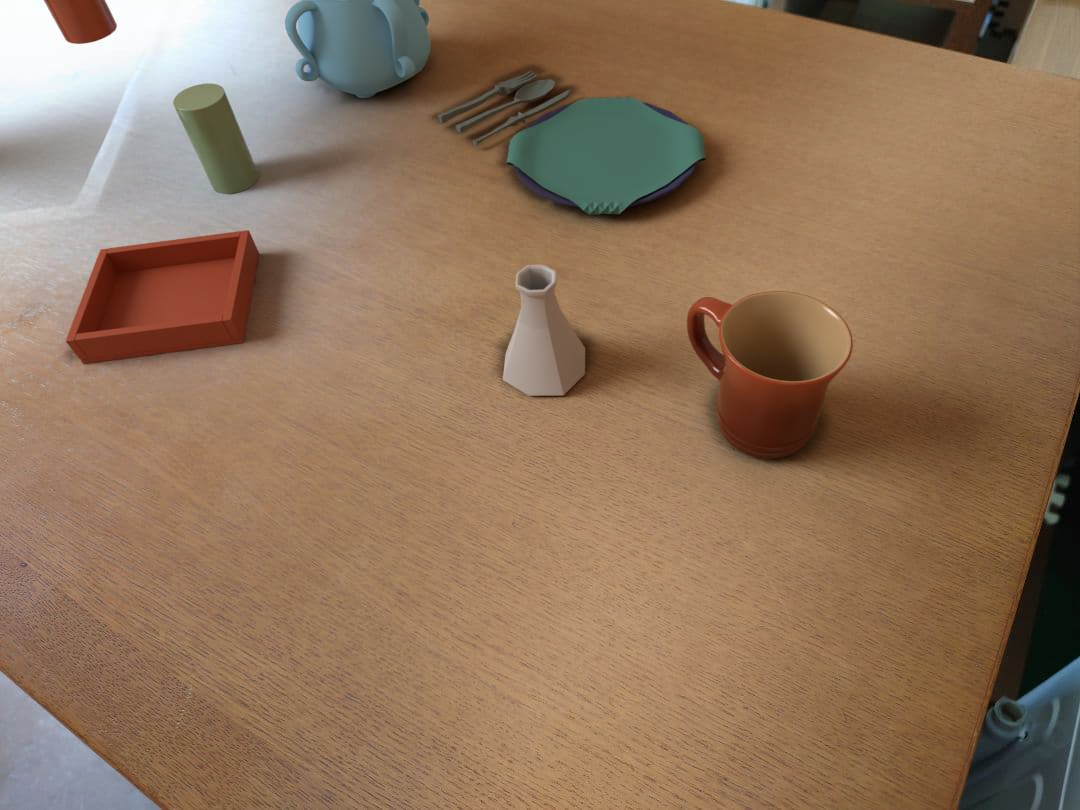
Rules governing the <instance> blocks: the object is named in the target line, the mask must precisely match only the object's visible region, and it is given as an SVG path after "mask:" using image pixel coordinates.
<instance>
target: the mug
mask: <svg viewBox="0 0 1080 810" xmlns="http://www.w3.org/2000/svg"><path fill="white" fill-rule="evenodd" d="M705 316H708V317H709V318H710V319H711V320H712V321H713V322H714V323H715V325H716V326H717V328H718V339H719V344H720V347H721V350H722V352H720V351H719V350H718V349H717V348H716V347H715V346H714V345H713V344H712V342H711V341H710V338H709V336H708V334H707V330H706V324H705V323H706V322H705ZM686 331H687V335H688V340H689V343H690V345H691V347H692V349H693V351H694V352H695V354H696V356H697V357H698V358H699V359H700V361H701V362H702V363H703V364H704V366H705V367H706V368H707V370H708V372H710V374H711V375H712V376H713V377H714V378H715V379H717V380H718V382H719V386H718V392H717V396H716V403H715V405H716V417H717V422H718V428H719V430H720V432H721V435H722V436H723V438H724V439H725V440H726V441H727V443H729V444H730V445H731V446H732V447H733V448H734V449H736V450H738V451H739V452H741V453H743V454H745V455H747V456H751V457H754V458H757V459H758V458H759V459H766V460H770V459H773V460H774V459H779V458H784V457H787V456H790V455H792V454H794V453H796V452H798V451H799V450H800V449H801V448H802V447H804V445H805V444H806V442H807V441H808V440H809V439H810V438H811V436H812V434H813V433H814V431H815V429H816V428H817V426H818V423H819V418H820V415H821V412H822V409H823V405H824V402H825V398H826V393H827V391H828V387H829V384H830V383H831V381H833V380H834V378H835V377H836V376H837V375H838V374H839V373H840V372H841V371H842V370H843V369H844V368H845V367H846V365H847V364H848V362H849V360H850V358H851V356H852V352H853V348H854V347H853V346H854V341H853V336H852V335H853V334H852V332H851V329H850V327H849V325H848V324H847V322H846V321H845V319H844V318H843V317H842V316H841V315H840V314H839V313H838V312H837V311H836V310H835V309H834V308H832V306H830V305H828V304H827V303H825V302H823V301H821V300H820V299H817V298H814V297H812V296H810V295H807V294H802V293H799V292H793V291H786V290H785V291H784V290H772V291H763V292H757V293H752V294H749V295H747V296H745V297H743V298H741V299H739V300H737V301H736V302H734V303H733V304H732V303H729V302H726V301H723V300H720V299H719V298H716V297H713V296H703V297H701V298H699V299H698V300H697V301H695V302H694V303H693V304H692V305H691V306H690V307H689V310H688V312H687V317H686Z"/></svg>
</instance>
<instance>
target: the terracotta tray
mask: <svg viewBox="0 0 1080 810" xmlns="http://www.w3.org/2000/svg"><path fill="white" fill-rule="evenodd" d="M259 257H260V252H259V250H258V247H257V245H256V243H255V241H254V238H253V236H252V234H251V232H250V230H249V229H246V230H237V231H230V232H223V233H215V234H208V235H199V236H192V237H185V238H177V239H170V240H168V239H167V240H161V241H154V242H146V243H137V244H130V245H123V246H115V247H108V248H101V249H99V251H98V255H97V258H96V260H95V263H94V265H93V268H92V271H91V273H90V276H89V279H88V281H87V284H86V286H85V289H84V290H83V291H84V292H83V294H82V297H81V300H80V301H79V304H78V307H77V310H76V312H75V315H74V318H73V320H72V324H71V325H70V328H69V331H68V333H67V336H66V338H65V343H66V345H68V347H69V348H70V349H71V350H72V351H73V353H74V354H75V355H76V357H77V358H78V359H79V360H80V362H81V363H82V365H84V364H93V363H100V362H107V361H113V360H124V359H130V358H136V357H137V358H138V357H145V356H153V355H154V356H155V355H160V354H167V353H176V352H183V351H192V350H197V349H205V348H213V347H221V346H228V345H237V344H244V343H245V336H246V330H247V325H248V319H249V314H250V310H251V309H250V308H251V303H252V298H253V297H252V296H253V292H254V287H255V280H256V276H257V270H258V265H259Z"/></svg>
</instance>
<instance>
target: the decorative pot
mask: <svg viewBox="0 0 1080 810" xmlns="http://www.w3.org/2000/svg"><path fill="white" fill-rule="evenodd" d="M429 22H430V16H429V13H428V11H427V10H426V9H425V8H424V7H422V6H420V0H299V1H297V2H296V3H294V4H293V5H292V6H291V7H290V8H289V9H288V11H287V13H286V15H285V18H284V27H285V31H286V33H287V36H288V38H289V39H290V41H291V43H292V44H293V46H294V47H295V49H296V50H297V51H298V52H299V54H300V55H301V56H302V58H300V59H298V60H297V62H296V63H295V64H296V65H295V73H296V75H297V77H298V78H299V79H300V80H301V81H303V82H314V81H316V80H318V78H319V80H321V81H322V82H323V83H324V84H326V85H327V86H329V87H331V88H333V89H335V90H338V91H340V92H344V93H348V94H351V95H352V94H353V95H355V96H356V97H357V98H360V99H367V98H371V97H373V96H375V95H376V93H379V92H382V91H385V90H388V89H390V88H393V87H395V86H397V85H398V84H399V85H400V84H402V83H404V82H406V81H408V80H409V79H411V78H412V77H414V76H416V75H417V74H419V73H420V72H421V71H422V70H424V69H423V68H424V67H425V65H426V63H427V61H428V58H429V56H430V53H431V50H432V49H431V48H432V45H431V44H432V43H431V38H430V34H429V31H428V28H427V27H428V25H429ZM305 66H307V67H308V70H307V71H304V67H305Z"/></svg>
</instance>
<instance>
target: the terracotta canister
mask: <svg viewBox="0 0 1080 810" xmlns="http://www.w3.org/2000/svg"><path fill="white" fill-rule="evenodd" d="M43 2H44V4H45V5H46V8H47V10H48V11H49V13H50V14H51V16H52V19H53V20H54V22H55V24H56V25H57V27H58V29H59V31H60V33H61V35H62V36H63V38H64V40H65V41H66V42H67V43H69V44H73V45H84V44H91V43H95V42H97V41H98V42H99V41H100V40H103V39H105V38H107V37H109V36H111V35H112V34H113V33H114V32H115V31H116V30H117V27H118V24H117V21H116V19H115V18H114V16H113V15H114V14H112V11H111V9H110V8H109V6H108V4H107V1H106V0H43Z"/></svg>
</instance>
